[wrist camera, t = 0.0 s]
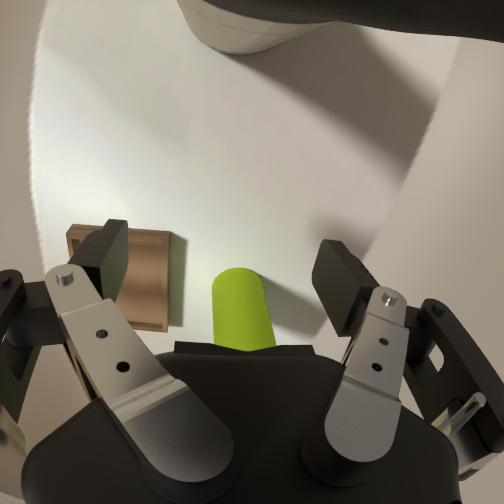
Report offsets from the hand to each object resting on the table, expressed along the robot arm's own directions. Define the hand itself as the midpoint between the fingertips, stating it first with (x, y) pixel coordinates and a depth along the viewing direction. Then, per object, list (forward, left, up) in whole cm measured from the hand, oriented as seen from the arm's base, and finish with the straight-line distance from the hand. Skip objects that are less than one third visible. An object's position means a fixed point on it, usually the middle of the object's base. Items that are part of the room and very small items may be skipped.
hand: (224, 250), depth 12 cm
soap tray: (+16, -9, -17) cm, 25 cm away
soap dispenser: (+16, +4, -17) cm, 24 cm away
